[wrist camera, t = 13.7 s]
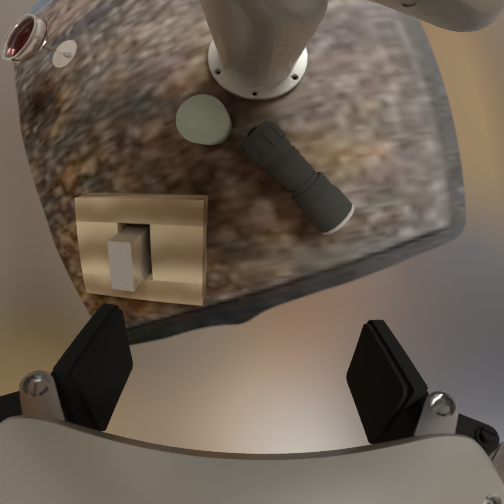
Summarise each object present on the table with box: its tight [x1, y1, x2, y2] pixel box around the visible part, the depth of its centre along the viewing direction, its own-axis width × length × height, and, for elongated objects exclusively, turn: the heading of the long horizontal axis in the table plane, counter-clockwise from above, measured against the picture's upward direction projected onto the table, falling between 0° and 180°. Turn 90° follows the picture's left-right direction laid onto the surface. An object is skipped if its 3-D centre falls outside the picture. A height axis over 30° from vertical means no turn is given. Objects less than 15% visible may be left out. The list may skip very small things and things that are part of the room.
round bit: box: [176, 94, 232, 145], centre depth 29 cm, size 5×5×9 cm
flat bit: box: [107, 223, 152, 292], centre depth 34 cm, size 6×3×9 cm, turn 175°
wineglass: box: [1, 14, 77, 68], centre depth 22 cm, size 7×7×12 cm
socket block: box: [75, 193, 208, 306], centre depth 36 cm, size 14×18×4 cm
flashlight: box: [240, 120, 354, 235], centre depth 33 cm, size 15×5×5 cm, turn 46°
